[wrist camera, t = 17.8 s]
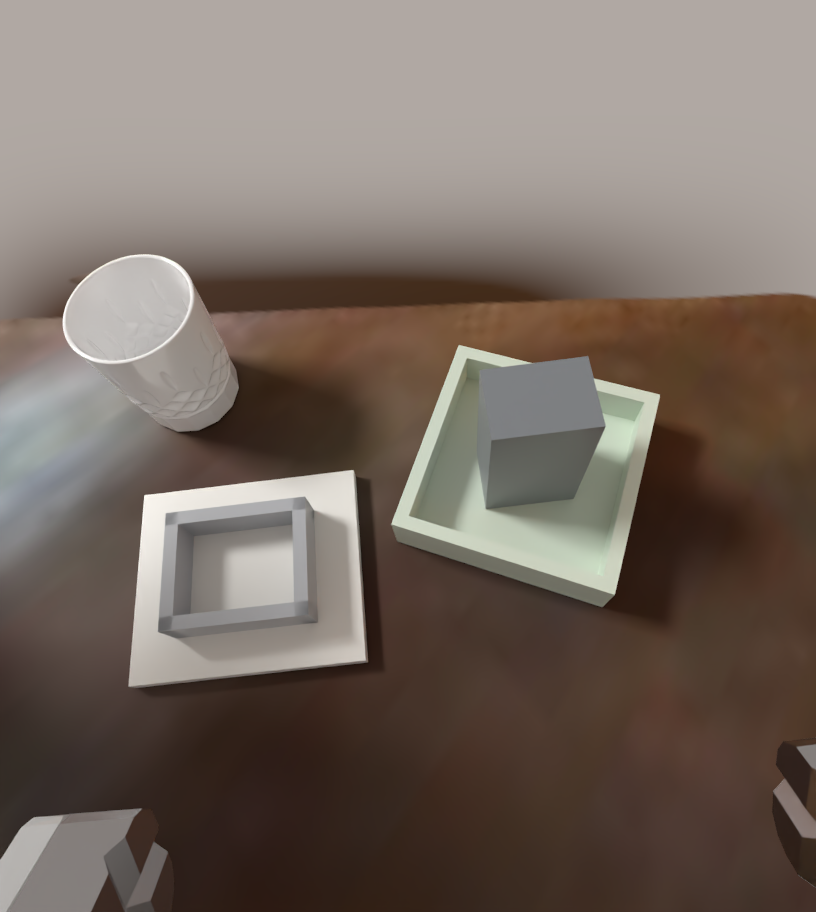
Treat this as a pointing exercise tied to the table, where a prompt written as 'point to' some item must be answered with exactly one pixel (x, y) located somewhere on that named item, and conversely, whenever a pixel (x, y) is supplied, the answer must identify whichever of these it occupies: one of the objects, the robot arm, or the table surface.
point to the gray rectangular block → (536, 431)
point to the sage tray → (532, 525)
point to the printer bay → (249, 581)
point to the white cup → (153, 340)
